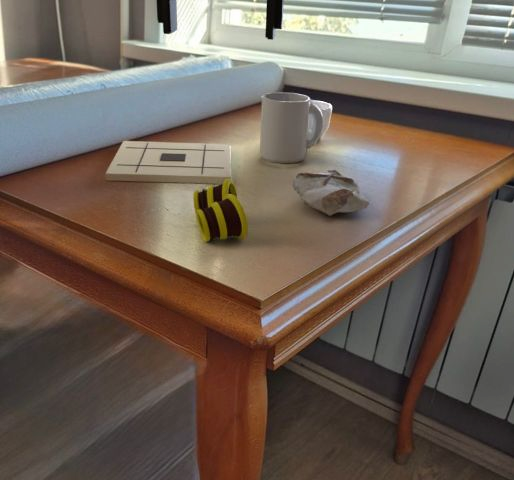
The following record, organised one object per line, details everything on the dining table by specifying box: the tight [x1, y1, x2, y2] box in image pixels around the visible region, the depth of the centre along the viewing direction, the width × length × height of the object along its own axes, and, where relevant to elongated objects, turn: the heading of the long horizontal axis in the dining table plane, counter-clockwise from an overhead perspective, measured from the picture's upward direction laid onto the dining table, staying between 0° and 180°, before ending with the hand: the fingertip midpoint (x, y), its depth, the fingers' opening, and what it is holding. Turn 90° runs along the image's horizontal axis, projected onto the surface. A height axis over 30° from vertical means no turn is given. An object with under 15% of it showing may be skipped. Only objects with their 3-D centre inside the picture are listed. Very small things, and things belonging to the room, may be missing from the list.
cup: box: [259, 91, 323, 164], centre depth 94 cm, size 7×10×9 cm
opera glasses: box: [192, 179, 249, 243], centre depth 68 cm, size 10×5×5 cm, turn 9°
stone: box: [291, 169, 370, 217], centre depth 78 cm, size 12×9×3 cm
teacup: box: [307, 99, 333, 138], centre depth 105 cm, size 10×8×5 cm
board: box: [104, 140, 232, 185], centre depth 90 cm, size 17×17×1 cm
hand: (220, 35), depth 58 cm, fingers open, 9 cm apart
